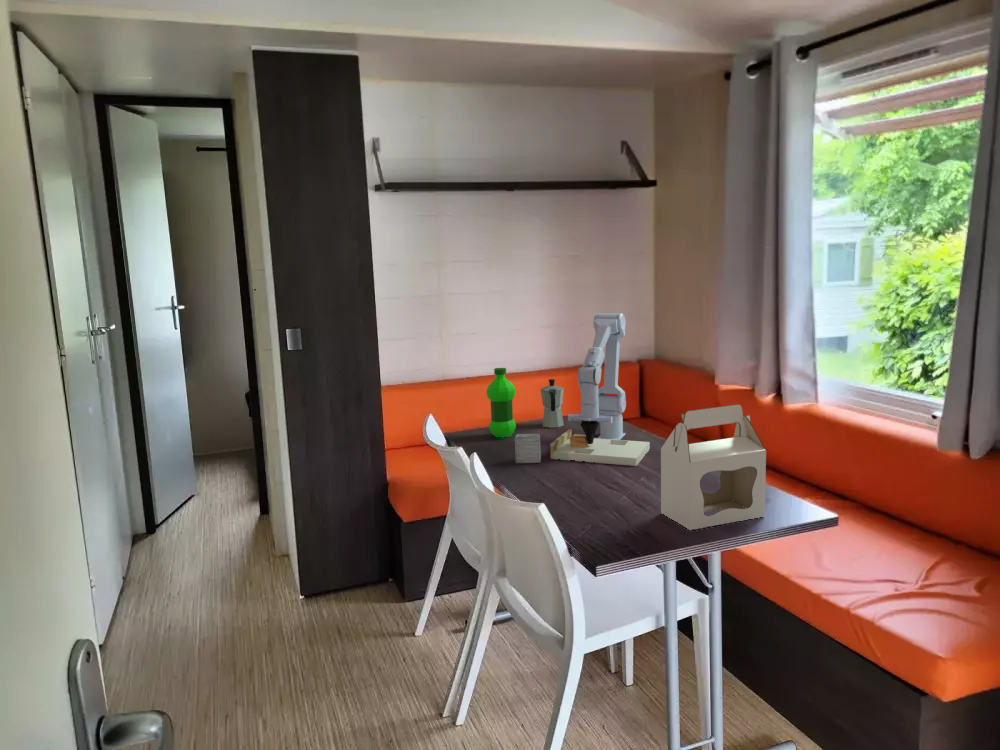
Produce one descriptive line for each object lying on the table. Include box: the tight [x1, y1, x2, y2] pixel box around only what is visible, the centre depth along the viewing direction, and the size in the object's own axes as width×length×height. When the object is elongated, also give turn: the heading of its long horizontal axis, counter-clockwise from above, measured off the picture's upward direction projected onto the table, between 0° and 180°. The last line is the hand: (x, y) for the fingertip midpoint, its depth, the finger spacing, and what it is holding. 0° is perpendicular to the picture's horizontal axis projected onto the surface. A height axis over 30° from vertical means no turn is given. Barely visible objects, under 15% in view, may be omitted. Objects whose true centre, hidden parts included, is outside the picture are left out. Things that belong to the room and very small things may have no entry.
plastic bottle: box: [486, 367, 517, 438], centre depth 271 cm, size 10×10×25 cm
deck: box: [549, 429, 651, 467], centre depth 246 cm, size 19×28×5 cm
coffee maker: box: [540, 378, 565, 428], centre depth 283 cm, size 15×9×18 cm, turn 178°
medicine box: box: [514, 433, 542, 464], centre depth 241 cm, size 8×4×9 cm, turn 84°
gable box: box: [660, 403, 767, 530], centre depth 188 cm, size 22×13×28 cm, turn 109°
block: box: [570, 433, 588, 448], centre depth 249 cm, size 5×5×3 cm
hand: (590, 443), depth 248 cm, fingers closed
